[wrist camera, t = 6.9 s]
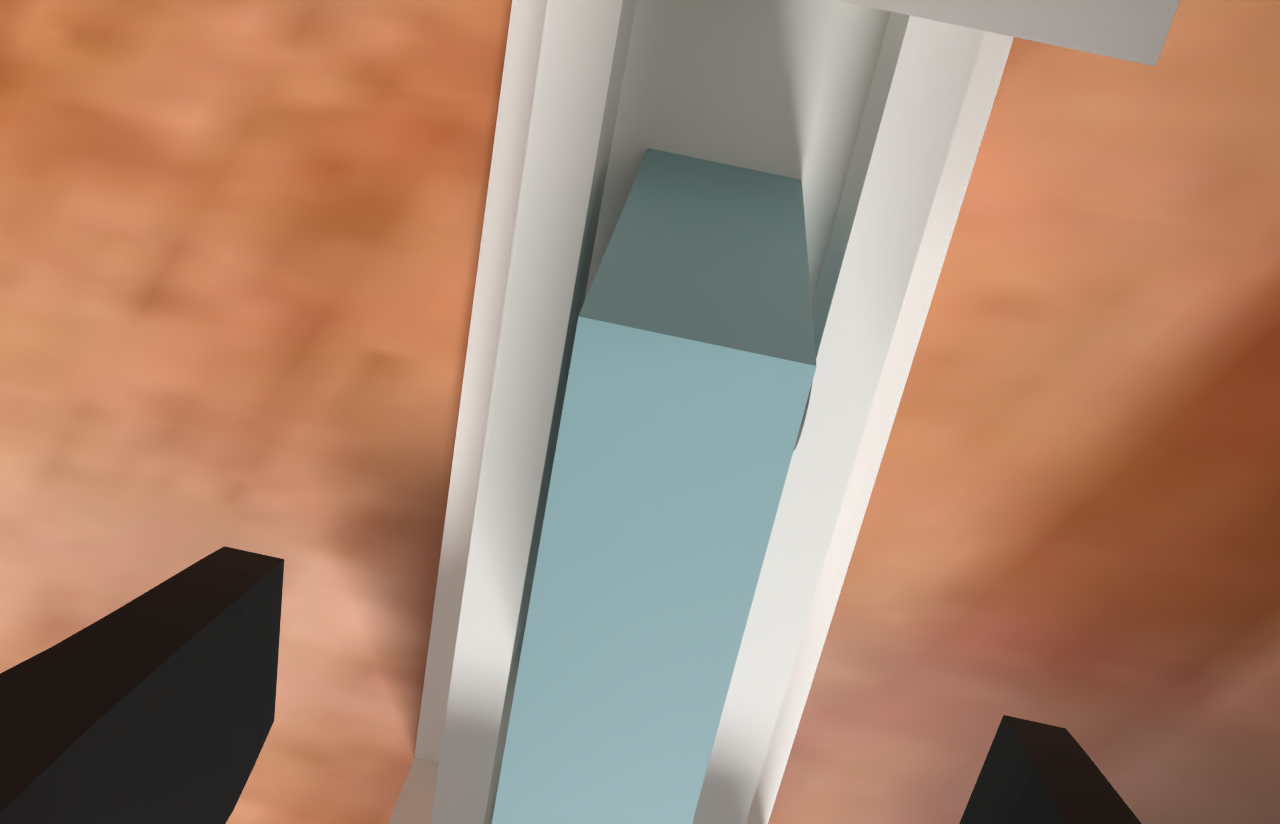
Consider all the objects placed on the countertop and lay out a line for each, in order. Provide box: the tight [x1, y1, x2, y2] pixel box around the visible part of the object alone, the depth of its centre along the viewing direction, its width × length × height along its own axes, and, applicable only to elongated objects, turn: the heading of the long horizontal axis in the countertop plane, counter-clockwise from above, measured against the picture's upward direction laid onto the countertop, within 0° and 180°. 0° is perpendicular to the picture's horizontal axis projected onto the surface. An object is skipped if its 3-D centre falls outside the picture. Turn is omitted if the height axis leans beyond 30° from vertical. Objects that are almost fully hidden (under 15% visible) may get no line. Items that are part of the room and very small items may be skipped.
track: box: [388, 0, 1180, 824], centre depth 15 cm, size 16×6×6 cm, turn 169°
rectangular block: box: [492, 148, 817, 824], centre depth 14 cm, size 8×2×6 cm, turn 170°
